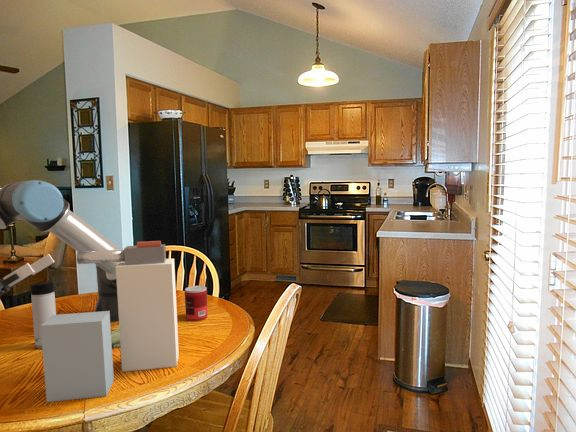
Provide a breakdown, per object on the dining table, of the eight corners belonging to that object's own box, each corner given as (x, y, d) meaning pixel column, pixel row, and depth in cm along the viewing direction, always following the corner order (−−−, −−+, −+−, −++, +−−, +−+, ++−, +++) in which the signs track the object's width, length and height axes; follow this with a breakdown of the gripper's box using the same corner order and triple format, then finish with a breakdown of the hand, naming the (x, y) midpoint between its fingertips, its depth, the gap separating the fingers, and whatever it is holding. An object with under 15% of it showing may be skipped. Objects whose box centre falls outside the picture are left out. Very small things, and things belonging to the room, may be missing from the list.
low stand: (58, 385, 109) (53, 314, 107) (113, 380, 111) (109, 310, 109) (46, 402, 101) (40, 325, 99) (106, 395, 103) (101, 321, 101)
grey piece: (81, 264, 118) (80, 243, 117) (166, 259, 121) (165, 239, 121) (76, 267, 113) (75, 246, 113) (164, 262, 117) (163, 242, 117)
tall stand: (127, 359, 124) (121, 261, 121) (178, 354, 126) (174, 258, 124) (122, 371, 116) (115, 267, 113) (176, 366, 118) (171, 263, 116)
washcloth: (109, 336, 144) (108, 327, 143) (165, 328, 150) (164, 319, 149) (107, 351, 131) (107, 340, 131) (168, 342, 137) (168, 332, 137)
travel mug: (34, 351, 132) (29, 285, 130) (35, 344, 137) (30, 281, 136) (58, 347, 134) (53, 282, 133) (58, 340, 140) (53, 278, 138)
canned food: (210, 314, 163) (209, 285, 162) (204, 321, 155) (202, 291, 154) (190, 314, 163) (188, 285, 162) (183, 321, 155) (181, 291, 155)
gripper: (-1, 305, 125) (66, 265, 127) (-54, 336, 100) (30, 285, 102) (-17, 284, 123) (50, 243, 125) (-75, 309, 99) (11, 259, 101)
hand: (42, 262), depth 114 cm, fingers open, 13 cm apart
